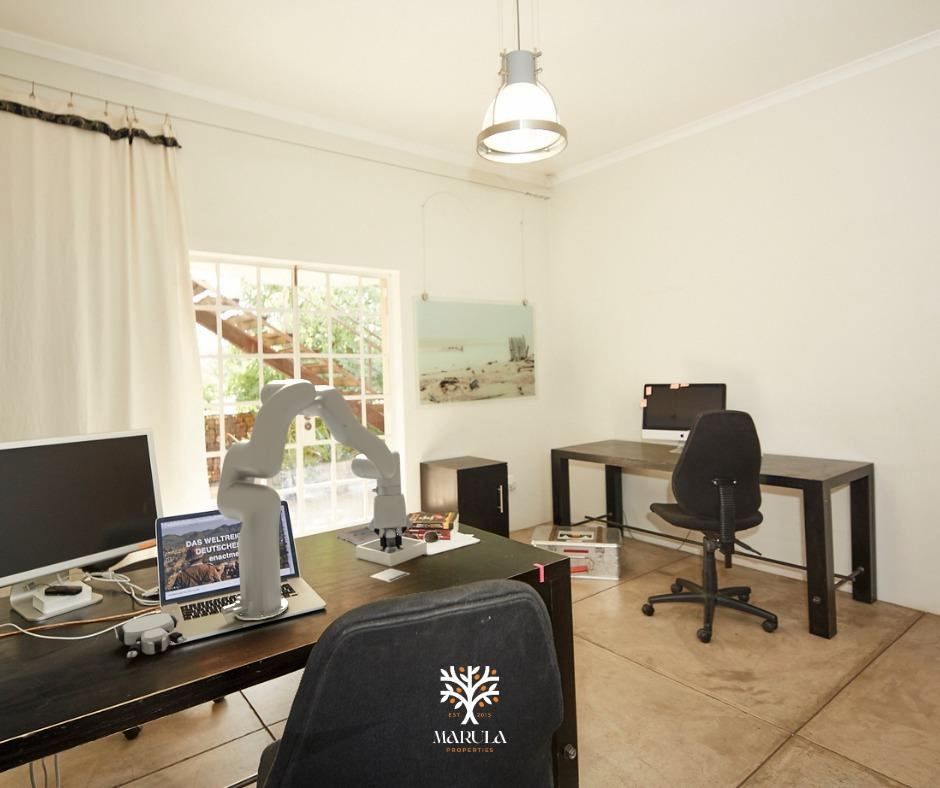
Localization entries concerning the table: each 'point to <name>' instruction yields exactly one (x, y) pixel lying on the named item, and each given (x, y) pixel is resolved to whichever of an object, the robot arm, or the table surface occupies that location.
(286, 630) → the table surface
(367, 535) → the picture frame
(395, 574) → the plate
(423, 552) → the tub
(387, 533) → the clear bottle
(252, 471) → the robot arm
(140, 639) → the robot toy
